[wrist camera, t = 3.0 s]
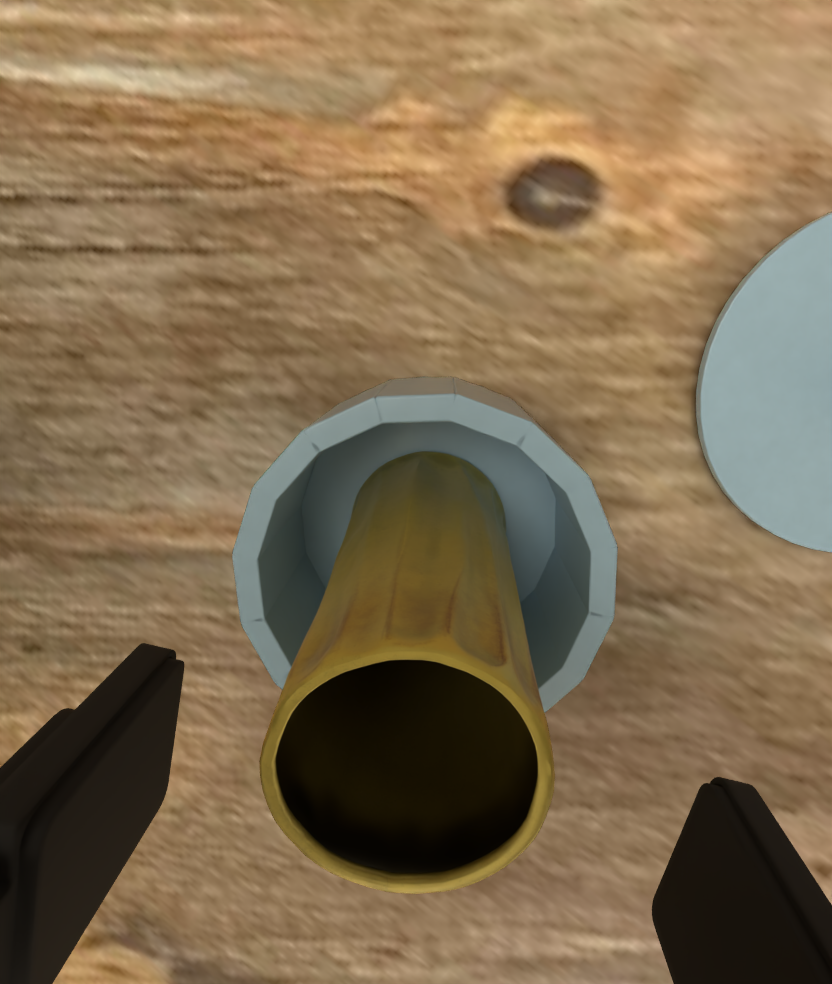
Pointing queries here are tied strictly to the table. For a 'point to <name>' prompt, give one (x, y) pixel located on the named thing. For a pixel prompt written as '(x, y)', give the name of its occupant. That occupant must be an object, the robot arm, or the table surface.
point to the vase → (414, 694)
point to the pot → (458, 432)
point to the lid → (775, 391)
